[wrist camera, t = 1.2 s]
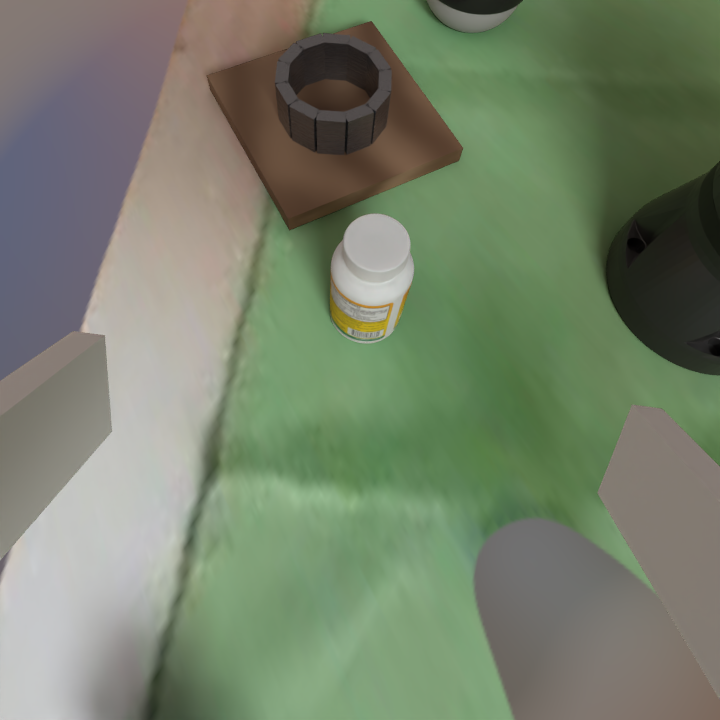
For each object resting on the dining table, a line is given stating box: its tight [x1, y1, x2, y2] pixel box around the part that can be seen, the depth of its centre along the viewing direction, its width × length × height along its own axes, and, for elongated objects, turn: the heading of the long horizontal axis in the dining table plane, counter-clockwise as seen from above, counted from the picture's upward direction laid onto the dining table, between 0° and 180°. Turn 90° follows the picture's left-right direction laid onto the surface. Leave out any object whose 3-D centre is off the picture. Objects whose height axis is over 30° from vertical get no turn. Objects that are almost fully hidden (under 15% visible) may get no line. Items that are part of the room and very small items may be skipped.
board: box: [207, 21, 463, 230], centre depth 45 cm, size 16×16×2 cm
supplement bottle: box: [330, 214, 414, 343], centre depth 35 cm, size 5×5×10 cm
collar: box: [275, 33, 392, 155], centre depth 43 cm, size 9×9×4 cm
